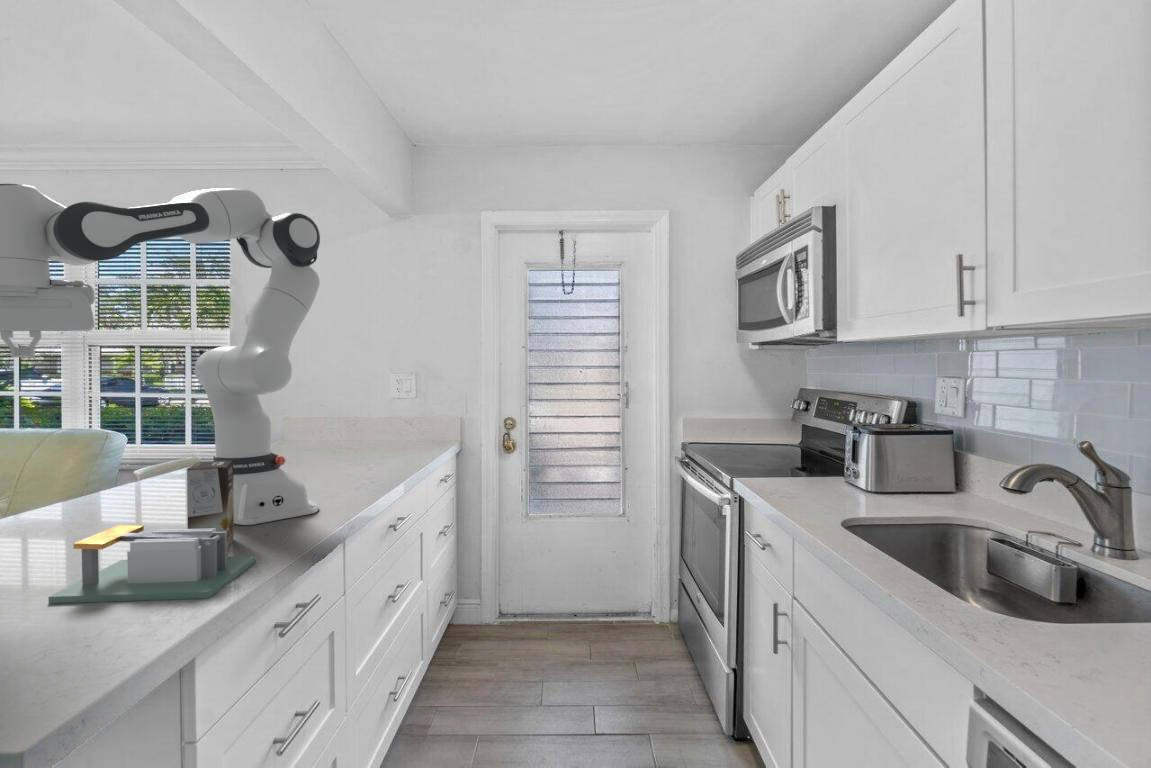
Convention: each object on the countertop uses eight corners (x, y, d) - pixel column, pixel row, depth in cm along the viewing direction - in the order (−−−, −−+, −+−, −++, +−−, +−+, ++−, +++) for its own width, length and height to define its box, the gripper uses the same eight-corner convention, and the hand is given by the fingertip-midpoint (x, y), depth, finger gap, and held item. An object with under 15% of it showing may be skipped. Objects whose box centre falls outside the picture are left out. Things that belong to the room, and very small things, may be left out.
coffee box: (227, 553, 108) (226, 467, 107) (186, 557, 105) (185, 469, 105) (234, 539, 116) (233, 459, 116) (197, 542, 114) (196, 461, 113)
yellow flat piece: (73, 548, 88) (73, 543, 88) (117, 529, 97) (118, 525, 97) (192, 551, 89) (192, 546, 89) (224, 532, 99) (224, 528, 99)
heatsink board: (48, 603, 85) (47, 553, 84) (121, 565, 101) (120, 523, 100) (209, 598, 87) (208, 549, 87) (255, 561, 103) (255, 520, 103)
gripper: (94, 282, 111) (99, 355, 111) (-63, 277, 98) (-55, 359, 99) (92, 279, 106) (98, 355, 106) (-73, 272, 93) (-65, 359, 94)
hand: (23, 357), depth 103 cm, fingers closed
